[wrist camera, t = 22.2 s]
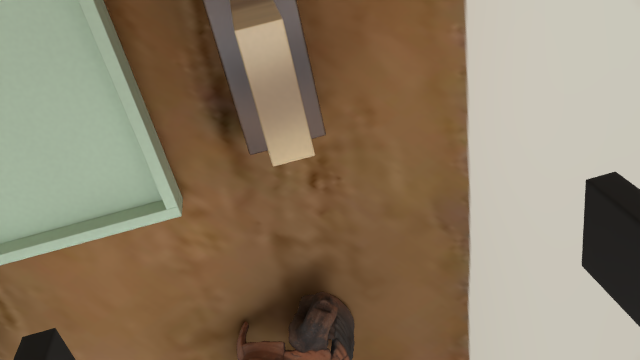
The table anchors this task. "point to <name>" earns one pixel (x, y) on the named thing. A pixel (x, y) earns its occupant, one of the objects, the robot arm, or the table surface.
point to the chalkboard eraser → (268, 75)
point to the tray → (73, 132)
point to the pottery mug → (308, 333)
